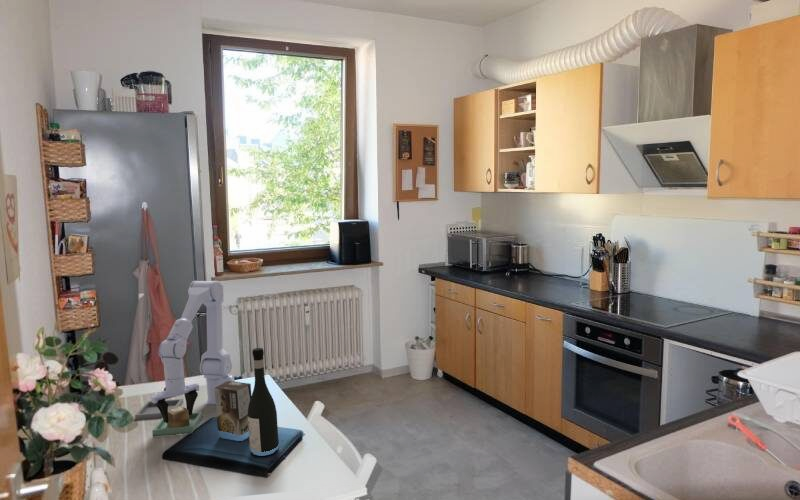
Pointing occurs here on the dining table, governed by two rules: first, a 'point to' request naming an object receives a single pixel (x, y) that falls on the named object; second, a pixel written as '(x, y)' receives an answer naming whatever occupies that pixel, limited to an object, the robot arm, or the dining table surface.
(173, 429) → the green tray
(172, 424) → the brown cardboard box
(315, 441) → the dining table surface
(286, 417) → the dining table surface
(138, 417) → the charcoal tray
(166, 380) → the robot arm
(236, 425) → the coffee box
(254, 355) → the wine bottle
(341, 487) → the dining table surface
